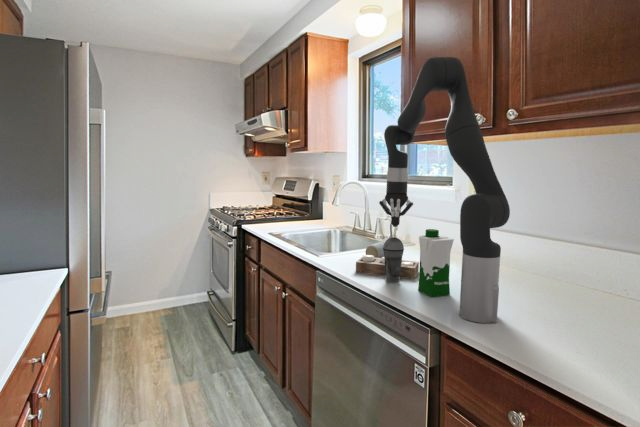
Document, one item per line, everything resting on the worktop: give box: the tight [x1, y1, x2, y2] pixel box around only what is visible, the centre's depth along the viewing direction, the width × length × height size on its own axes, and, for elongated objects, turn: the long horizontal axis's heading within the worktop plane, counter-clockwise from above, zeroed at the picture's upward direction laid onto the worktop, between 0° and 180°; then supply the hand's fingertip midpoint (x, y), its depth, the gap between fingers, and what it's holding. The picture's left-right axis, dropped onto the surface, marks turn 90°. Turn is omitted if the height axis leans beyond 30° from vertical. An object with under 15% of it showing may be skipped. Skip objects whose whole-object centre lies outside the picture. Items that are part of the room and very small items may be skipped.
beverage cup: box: [383, 224, 405, 284], centre depth 134 cm, size 7×7×20 cm
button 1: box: [362, 254, 374, 262], centre depth 149 cm, size 4×4×3 cm
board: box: [355, 256, 420, 280], centre depth 147 cm, size 22×10×4 cm, turn 68°
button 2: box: [401, 262, 413, 266], centre depth 144 cm, size 4×4×3 cm
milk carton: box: [417, 228, 454, 298], centre depth 122 cm, size 9×9×20 cm
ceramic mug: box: [365, 241, 385, 258], centre depth 163 cm, size 11×8×8 cm
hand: (395, 226), depth 144 cm, fingers closed
